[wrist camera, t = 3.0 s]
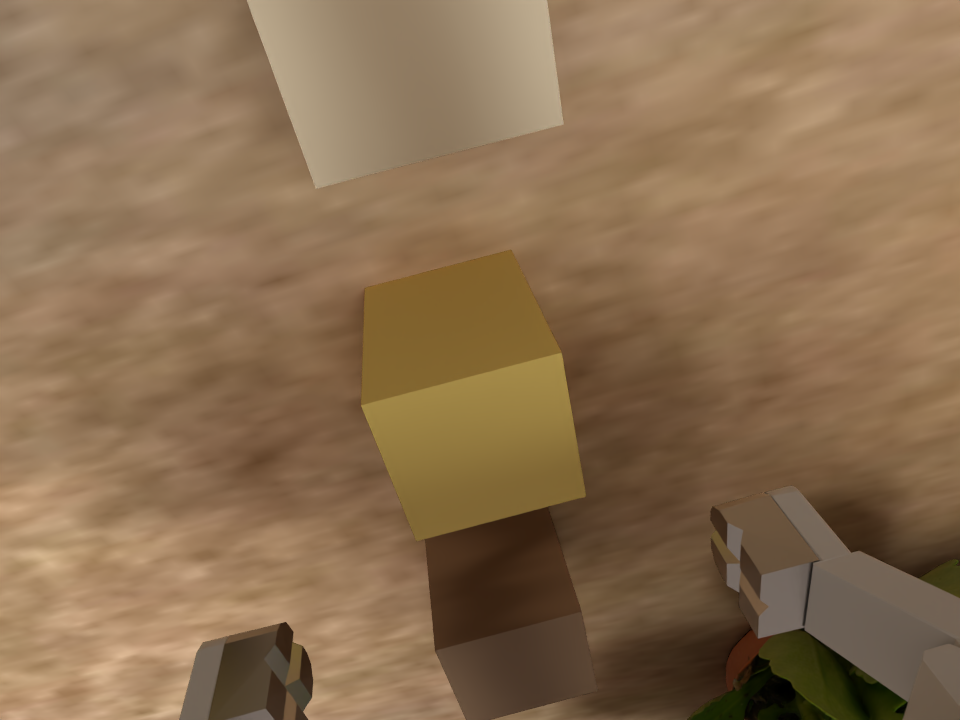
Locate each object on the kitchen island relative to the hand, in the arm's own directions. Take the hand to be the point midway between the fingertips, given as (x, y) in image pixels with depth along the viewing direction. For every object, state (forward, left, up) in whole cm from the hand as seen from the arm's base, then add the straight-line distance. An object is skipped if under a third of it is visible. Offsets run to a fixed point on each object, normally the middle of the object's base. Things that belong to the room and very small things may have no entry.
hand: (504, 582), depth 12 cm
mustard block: (0, 0, -10) cm, 10 cm away
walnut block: (-6, +7, -10) cm, 13 cm away
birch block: (+6, -7, -10) cm, 13 cm away
